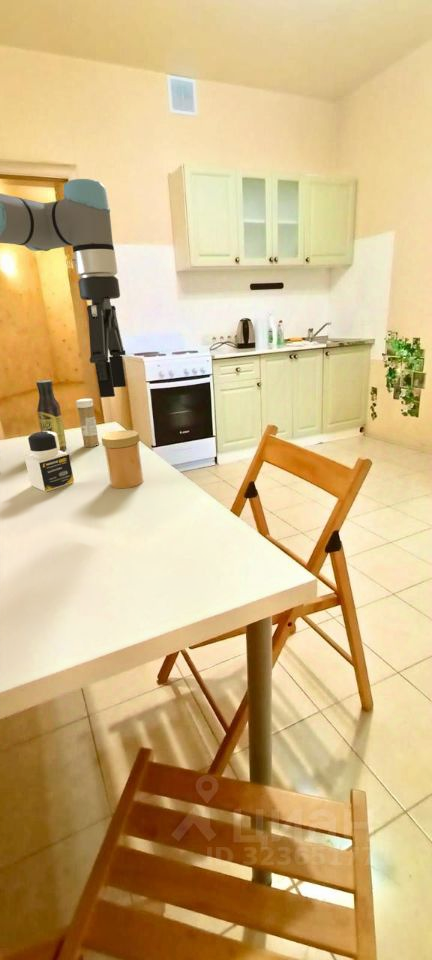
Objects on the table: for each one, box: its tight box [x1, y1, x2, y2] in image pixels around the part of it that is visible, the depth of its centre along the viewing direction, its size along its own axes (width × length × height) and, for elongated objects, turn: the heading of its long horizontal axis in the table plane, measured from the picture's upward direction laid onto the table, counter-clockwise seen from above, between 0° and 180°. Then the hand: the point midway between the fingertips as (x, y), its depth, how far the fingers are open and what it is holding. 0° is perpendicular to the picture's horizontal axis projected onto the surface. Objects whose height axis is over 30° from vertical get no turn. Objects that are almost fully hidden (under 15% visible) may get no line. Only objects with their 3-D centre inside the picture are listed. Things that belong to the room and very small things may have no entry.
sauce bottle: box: [36, 379, 67, 452], centre depth 124 cm, size 7×6×20 cm
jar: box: [104, 442, 144, 489], centre depth 98 cm, size 7×7×10 cm
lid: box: [101, 429, 141, 448], centre depth 96 cm, size 8×8×2 cm
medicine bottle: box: [24, 431, 75, 493], centre depth 100 cm, size 7×7×12 cm
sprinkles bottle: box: [75, 398, 100, 448], centre depth 129 cm, size 5×5×14 cm
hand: (114, 391), depth 93 cm, fingers open, 12 cm apart
